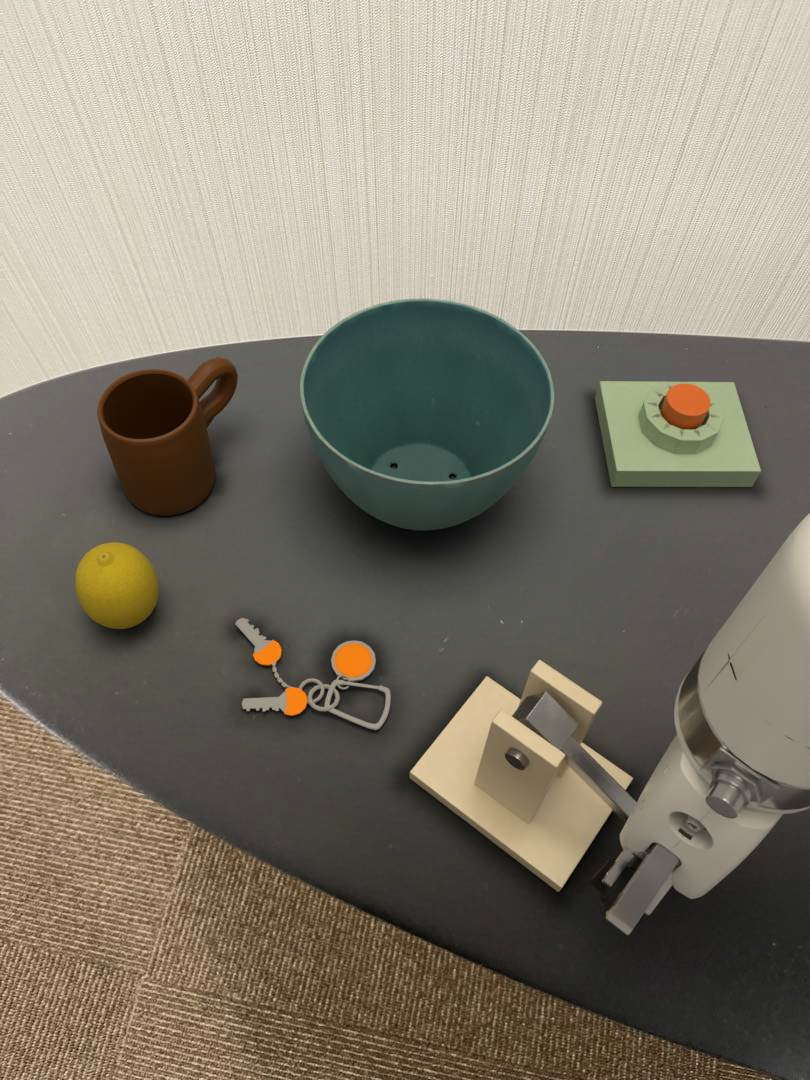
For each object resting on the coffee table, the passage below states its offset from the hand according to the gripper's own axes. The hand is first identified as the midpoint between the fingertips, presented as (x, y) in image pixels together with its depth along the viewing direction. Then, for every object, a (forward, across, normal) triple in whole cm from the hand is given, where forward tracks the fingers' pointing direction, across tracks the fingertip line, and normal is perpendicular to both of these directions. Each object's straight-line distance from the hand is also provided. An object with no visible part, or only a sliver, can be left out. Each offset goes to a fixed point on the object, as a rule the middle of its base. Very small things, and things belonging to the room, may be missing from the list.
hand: (658, 828), depth 53 cm
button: (+4, +33, +15) cm, 37 cm away
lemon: (+8, -8, +38) cm, 40 cm away
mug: (+8, +5, +45) cm, 46 cm away
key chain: (+8, -3, +25) cm, 26 cm away
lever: (0, 0, +5) cm, 5 cm away
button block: (+7, +33, +15) cm, 37 cm away
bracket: (+7, 0, +8) cm, 11 cm away
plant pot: (+8, +16, +29) cm, 34 cm away
